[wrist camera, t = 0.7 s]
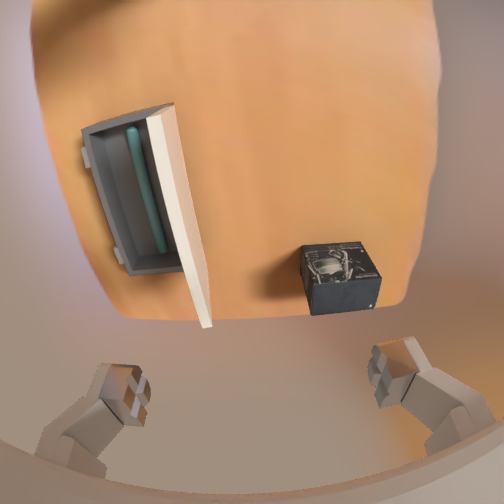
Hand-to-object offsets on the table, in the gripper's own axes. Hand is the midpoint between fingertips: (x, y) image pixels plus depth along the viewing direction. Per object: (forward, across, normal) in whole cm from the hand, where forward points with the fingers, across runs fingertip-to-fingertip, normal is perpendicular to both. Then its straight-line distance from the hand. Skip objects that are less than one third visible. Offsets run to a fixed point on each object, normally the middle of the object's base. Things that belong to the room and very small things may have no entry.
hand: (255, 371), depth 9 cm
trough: (+35, +14, +2) cm, 38 cm away
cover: (+24, +8, +3) cm, 25 cm away
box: (+36, -13, +17) cm, 42 cm away
